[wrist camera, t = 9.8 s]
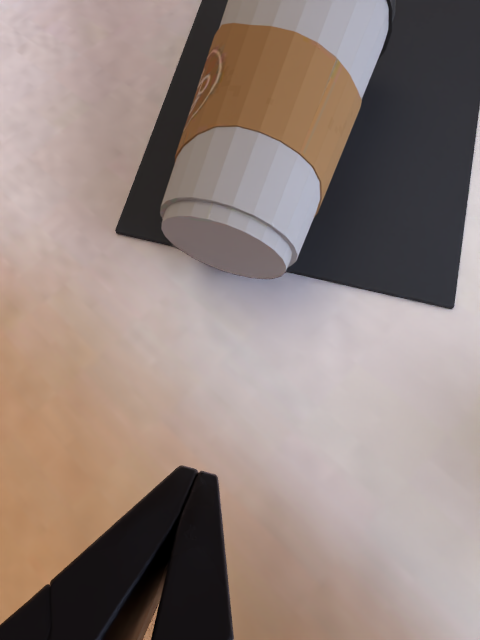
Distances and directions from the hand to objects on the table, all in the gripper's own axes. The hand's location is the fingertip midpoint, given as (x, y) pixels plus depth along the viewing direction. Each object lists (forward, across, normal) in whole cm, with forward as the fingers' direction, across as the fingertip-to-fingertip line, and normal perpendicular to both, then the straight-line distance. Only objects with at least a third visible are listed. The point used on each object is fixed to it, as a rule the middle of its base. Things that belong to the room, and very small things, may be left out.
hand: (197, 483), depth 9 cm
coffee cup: (+12, +2, -1) cm, 12 cm away
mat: (+23, 0, -7) cm, 24 cm away
